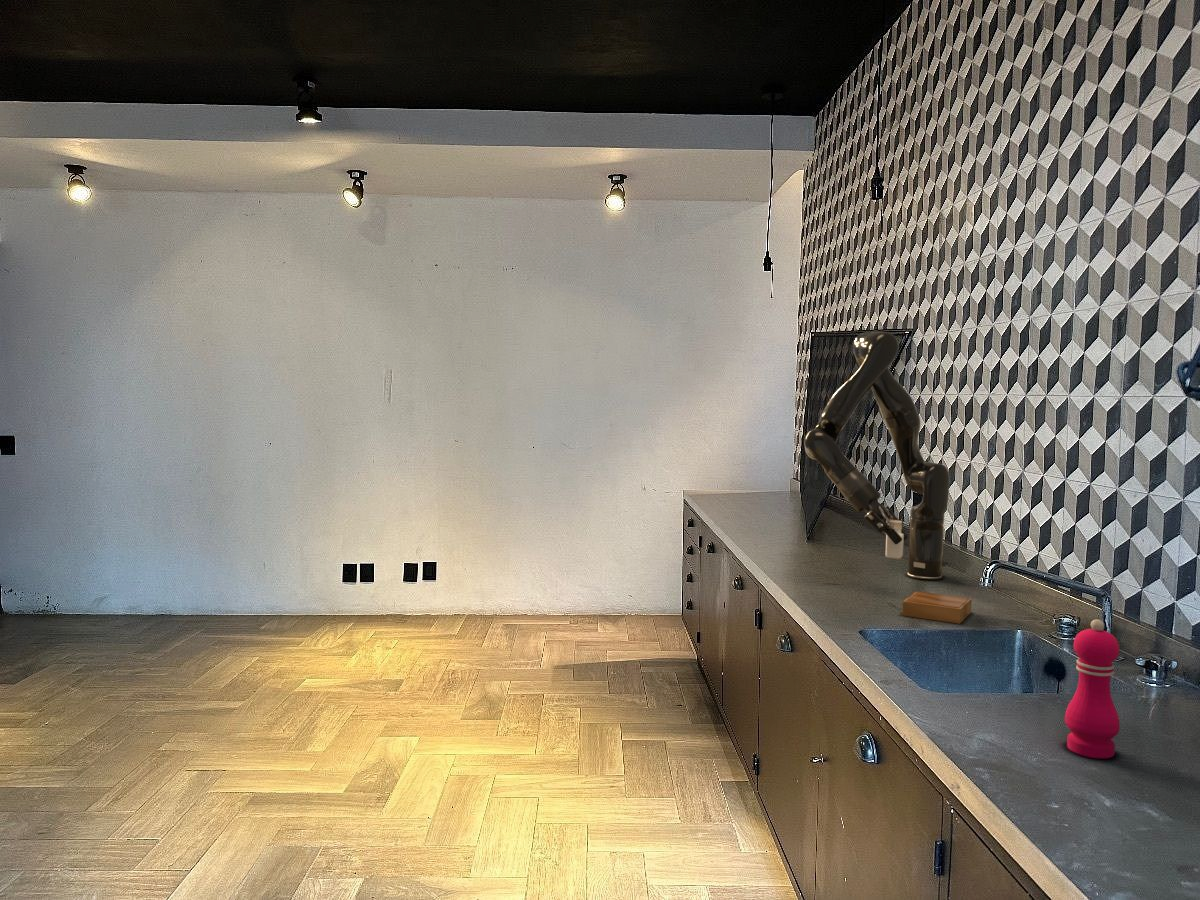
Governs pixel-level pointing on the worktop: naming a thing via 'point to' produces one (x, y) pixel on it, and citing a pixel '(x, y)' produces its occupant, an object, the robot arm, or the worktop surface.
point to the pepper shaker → (892, 548)
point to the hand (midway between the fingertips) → (902, 540)
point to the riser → (937, 607)
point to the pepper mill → (1093, 695)
